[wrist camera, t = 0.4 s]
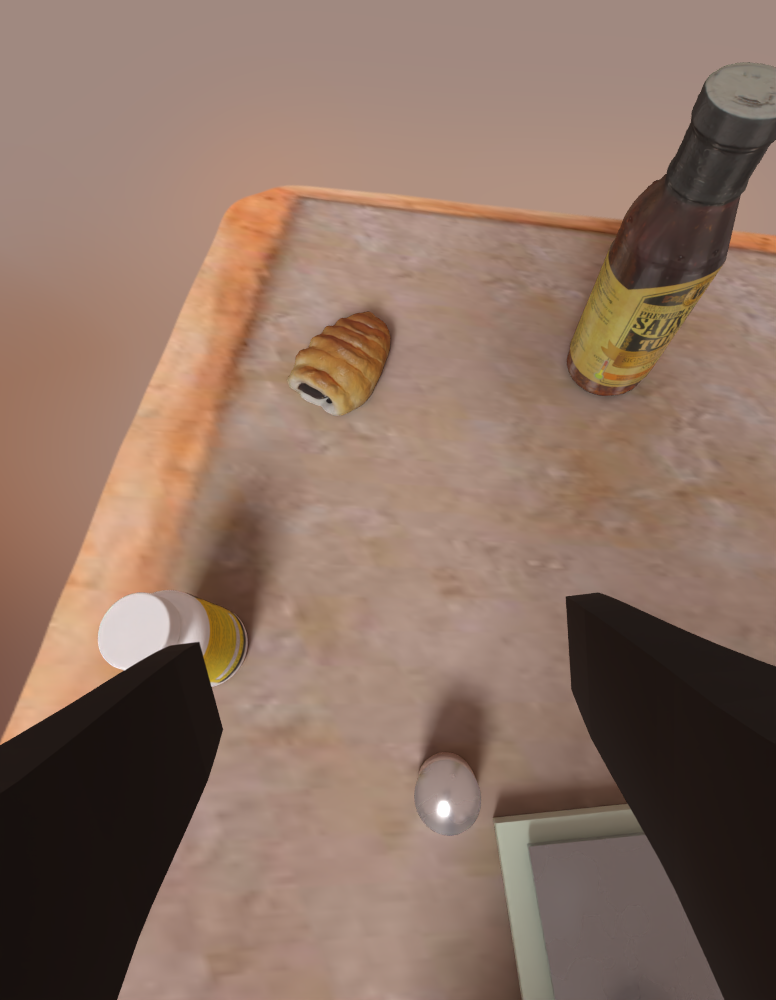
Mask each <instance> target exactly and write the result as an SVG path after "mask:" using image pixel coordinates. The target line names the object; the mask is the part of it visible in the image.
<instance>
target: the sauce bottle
mask: <svg viewBox="0 0 776 1000" xmlns="http://www.w3.org/2000/svg"><path fill="white" fill-rule="evenodd" d="M775 140H776V67H774V66H769V65H765V64H758V63H750V62H748V63H735V64H731V65H727V66H724V67H722V68H720V69H719V70H717V71H716V72H714V73H712V74H711V75H710V76H709V77H708V79H707V80H706V81H705V83H704V85H703V87H702V90H701V92H700V94H699V95H698V98H697V101H696V103H695V105H694V107H693V110H692V118H691V123H690V126H689V128H688V130H687V131H686V134H685V136H684V139H683V141H682V143H681V145H680V147H679V149H678V152H677V154H676V156H675V157H674V158H673V160H672V161H671V163H670V165H669V167H668V170H667V174H665V175H664V177H662V178H661V179H660V180H656V181H654V182H653V183H652V184H651V185H650V186H648V188H647V189H646V190H645V191H644V192H643V193H642V194H641V195H640V196H639V197H638V198H637V199H636V200H635V201H634V203H633V204H632V206H631V207H630V208H629V210H628V211H627V213H626V215H625V217H624V219H623V222H622V224H621V227H620V229H619V231H618V234H617V237H616V239H615V240H614V241H613V243H612V245H611V247H610V249H609V251H608V254H607V256H606V258H605V261H604V263H603V266H602V268H601V270H600V273H599V275H598V278H597V280H596V283H595V285H594V287H593V290H592V292H591V295H590V297H589V299H588V302H587V304H586V307H585V309H584V311H583V314H582V316H581V319H580V321H579V324H578V326H577V329H576V331H575V333H574V336H573V338H572V341H571V344H570V351H569V355H568V357H567V366H568V370H569V373H570V375H571V377H572V379H573V380H574V381H575V382H576V383H577V384H578V385H579V386H580V387H582V388H583V389H584V390H586V391H588V392H590V393H593V394H597V395H603V396H608V395H618V394H623V393H625V392H627V391H630V390H632V389H633V388H634V387H635V386H637V384H638V383H639V382H640V381H641V380H642V379H643V378H644V377H646V376H647V375H648V373H649V372H650V371H651V369H652V368H653V366H654V365H655V363H656V362H657V361H658V359H659V358H660V356H661V355H662V353H663V352H664V350H665V349H666V347H667V346H668V345H669V343H670V342H671V340H672V339H673V337H674V336H675V334H676V333H677V331H678V330H679V329H680V327H681V326H682V324H683V322H684V321H685V320H686V318H687V316H688V315H689V314H690V312H691V311H692V309H693V308H694V306H695V305H696V303H697V302H698V300H699V299H700V298H701V296H702V295H703V293H704V292H705V290H706V289H707V287H708V286H709V285H710V283H711V282H712V280H713V279H714V277H715V276H716V274H717V273H718V271H719V270H720V268H721V267H722V265H723V264H724V262H725V260H726V256H727V252H728V248H729V243H730V239H731V235H732V230H733V226H734V221H735V217H736V213H737V208H738V204H739V200H740V195H741V194H742V193H743V192H744V191H745V189H746V186H747V184H748V180H749V178H750V176H751V175H752V173H753V171H754V170H755V168H756V166H757V165H758V164H759V162H760V160H761V159H762V157H763V155H764V154H765V152H766V151H767V149H768V147H769V146H770V144H771V143H773V142H774V141H775Z"/></svg>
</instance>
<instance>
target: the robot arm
mask: <svg viewBox="0 0 776 1000" xmlns="http://www.w3.org/2000/svg"><path fill="white" fill-rule="evenodd" d="M566 608H567V624H568V640H569V656H570V673H571V689H572V692H573V695H574V697H575V700H576V702H577V705H578V707H579V710H580V713H581V715H582V718H583V720H584V722H585V725H586V727H587V729H588V732H589V734H590V737H591V739H592V741H593V742H594V744H595V746H596V748H597V750H598V752H599V753H600V755H601V757H602V759H603V761H604V762H605V764H606V766H607V768H608V770H609V771H610V773H611V775H612V777H613V779H614V780H615V782H616V784H617V786H618V787H619V789H620V791H621V793H622V794H623V796H624V798H625V800H626V802H627V803H628V805H629V807H630V809H631V810H632V812H633V814H634V816H635V817H636V819H637V821H638V823H639V825H640V826H641V828H642V830H643V832H644V833H645V835H646V837H647V839H648V841H649V842H650V844H651V846H652V848H653V849H654V851H655V853H656V855H657V856H658V858H659V860H660V862H661V864H662V866H663V868H664V870H665V872H666V874H667V876H668V878H669V880H670V881H671V883H672V885H673V887H674V889H675V891H676V893H677V896H678V898H679V900H680V902H681V904H682V907H683V909H684V911H685V913H686V915H687V918H688V920H689V922H690V924H691V926H692V929H693V931H694V933H695V935H696V937H697V940H698V942H699V944H700V946H701V948H702V951H703V953H704V955H705V957H706V959H707V962H708V964H709V966H710V968H711V971H712V973H713V975H714V977H715V980H716V982H717V984H718V987H719V989H720V991H721V994H722V996H723V998H724V1000H776V666H773V665H770V664H767V663H764V662H762V661H759V660H756V659H754V658H751V657H749V656H746V655H744V654H741V653H738V652H736V651H733V650H731V649H728V648H726V647H723V646H720V645H718V644H716V643H713V642H711V641H708V640H706V639H704V638H701V637H699V636H697V635H694V634H692V633H690V632H687V631H685V630H683V629H681V628H678V627H676V626H674V625H672V624H669V623H667V622H665V621H663V620H661V619H658V618H656V617H654V616H652V615H650V614H648V613H645V612H643V611H641V610H639V609H637V608H635V607H632V606H630V605H628V604H626V603H624V602H621V601H619V600H617V599H614V598H612V597H610V596H607V595H604V594H601V593H591V594H583V595H575V596H567V597H566ZM222 731H223V728H222V724H221V720H220V717H219V713H218V709H217V706H216V702H215V698H214V694H213V691H212V687H211V683H210V679H209V676H208V672H207V668H206V664H205V661H204V657H203V653H202V650H201V646H200V642H194V643H186V644H178V645H170V646H168V647H165V648H163V649H161V650H159V651H157V652H155V653H153V654H151V655H150V656H148V657H146V658H144V659H143V660H141V661H139V662H137V663H136V664H134V665H132V666H131V667H129V668H128V669H126V670H124V671H123V672H121V673H119V674H118V675H116V676H115V677H113V678H111V679H110V680H108V681H107V682H105V683H103V684H102V685H100V686H99V687H97V688H95V689H94V690H92V691H91V692H89V693H87V694H86V695H84V696H83V697H81V698H79V699H78V700H76V701H75V702H73V703H71V704H70V705H68V706H66V707H65V708H63V709H61V710H60V711H58V712H56V713H54V714H53V715H51V716H49V717H48V718H46V719H44V720H43V721H41V722H39V723H38V724H36V725H34V726H32V727H31V728H29V729H27V730H26V731H24V732H22V733H21V734H19V735H17V736H16V737H14V738H12V739H10V740H9V741H7V742H5V743H3V744H2V745H0V1000H117V998H118V995H119V992H120V990H121V987H122V984H123V981H124V978H125V975H126V973H127V970H128V967H129V964H130V961H131V958H132V955H133V953H134V950H135V947H136V944H137V941H138V938H139V936H140V933H141V931H142V929H143V926H144V924H145V921H146V919H147V916H148V914H149V911H150V909H151V907H152V904H153V902H154V900H155V898H156V895H157V893H158V891H159V889H160V887H161V884H162V882H163V880H164V878H165V875H166V873H167V871H168V869H169V867H170V864H171V862H172V860H173V858H174V855H175V853H176V851H177V849H178V847H179V844H180V842H181V840H182V838H183V836H184V833H185V831H186V829H187V827H188V824H189V822H190V820H191V818H192V815H193V813H194V811H195V809H196V806H197V804H198V802H199V800H200V797H201V795H202V793H203V790H204V788H205V786H206V783H207V781H208V778H209V775H210V772H211V769H212V766H213V762H214V759H215V756H216V752H217V749H218V745H219V742H220V738H221V734H222Z"/></svg>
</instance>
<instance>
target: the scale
mask: <svg viewBox="0 0 776 1000" xmlns="http://www.w3.org/2000/svg"><path fill="white" fill-rule="evenodd" d="M493 821H494V828H495V834H496V840H497V847H498V853H499V859H500V865H501V872H502V878H503V884H504V891H505V897H506V903H507V910H508V916H509V922H510V929H511V935H512V941H513V947H514V954H515V960H516V966H517V973H518V979H519V985H520V992H521V998H522V1000H554V996H553V990H552V984H551V979H550V973H549V967H548V962H547V956H546V950H545V945H544V939H543V933H542V928H541V922H540V916H539V911H538V905H537V899H536V894H535V888H534V882H533V877H532V871H531V865H530V860H529V854H528V848H527V844H528V843H538V842H548V841H558V840H568V839H577V838H587V837H597V836H607V835H617V834H627V833H637V832H643V830H642V828H641V826H640V825H639V823H638V821H637V819H636V817H635V816H634V814H633V812H632V810H631V809H630V807H629V805H628V804H620V805H610V806H601V807H591V808H582V809H572V810H562V811H553V812H543V813H534V814H524V815H515V816H505V817H495V818H493Z"/></svg>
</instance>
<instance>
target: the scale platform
mask: <svg viewBox="0 0 776 1000" xmlns="http://www.w3.org/2000/svg"><path fill="white" fill-rule="evenodd" d="M527 848H528V854H529V860H530V865H531V871H532V877H533V882H534V888H535V894H536V899H537V905H538V911H539V916H540V922H541V928H542V933H543V939H544V945H545V950H546V956H547V962H548V967H549V973H550V979H551V984H552V990H553V996H554V1000H724V998H723V996H722V994H721V991H720V989H719V987H718V984H717V982H716V980H715V977H714V975H713V973H712V971H711V968H710V966H709V964H708V962H707V959H706V957H705V955H704V953H703V951H702V948H701V946H700V944H699V942H698V940H697V937H696V935H695V933H694V931H693V929H692V926H691V924H690V922H689V920H688V918H687V915H686V913H685V911H684V909H683V907H682V904H681V902H680V900H679V898H678V896H677V893H676V891H675V889H674V887H673V885H672V883H671V881H670V880H669V878H668V876H667V874H666V872H665V870H664V868H663V866H662V864H661V862H660V860H659V858H658V856H657V855H656V853H655V851H654V849H653V848H652V846H651V844H650V842H649V841H648V839H647V837H646V835H645V833H644V832H637V833H627V834H617V835H607V836H597V837H587V838H577V839H568V840H558V841H548V842H538V843H528V844H527Z"/></svg>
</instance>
